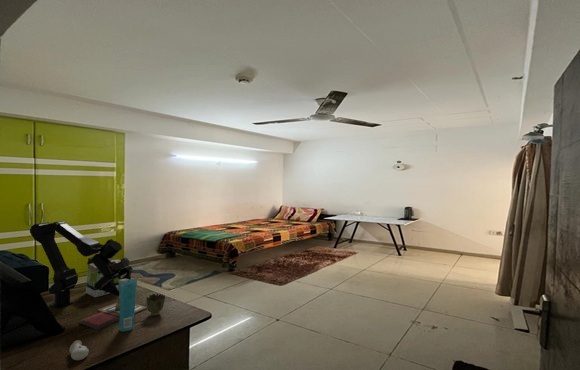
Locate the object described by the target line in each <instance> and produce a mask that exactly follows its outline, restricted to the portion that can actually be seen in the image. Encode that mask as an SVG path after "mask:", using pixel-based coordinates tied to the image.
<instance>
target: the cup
mask: <svg viewBox="0 0 580 370" xmlns="http://www.w3.org/2000/svg"><path fill="white" fill-rule="evenodd" d="M165 298H166V295H163V294H162V293H156V294H155V293H152V294H149V297H148V296H146V307H147V309H146V310H147V311H148V312H149V313H150V316H151V317H157V316H159V315H160V313H161V311H162V310H163V308H164V305H165V300H166V299H165Z"/></svg>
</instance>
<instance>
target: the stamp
mask: <svg viewBox="0 0 580 370" xmlns="http://www.w3.org/2000/svg"><path fill="white" fill-rule="evenodd" d="M126 280H129V279H121V280H119V282H122V281H126ZM118 290H119V286H118ZM115 303H116V306H115V311H120V297H119V296H117V300H116V302H115Z"/></svg>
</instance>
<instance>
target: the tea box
mask: <svg viewBox="0 0 580 370" xmlns="http://www.w3.org/2000/svg"><path fill="white" fill-rule="evenodd" d="M110 261H111V262H113V261H114V262H116V263H118V262H120V261H121V259H118V258H117V259H112V260H111V259H110ZM126 267H127V266H126ZM122 269H123V268H122ZM98 272H99V270H98V269H97V268H96V266H95V265H94V264H93V263H92V264H89V265H87V272H86V273H87V274H86V275H87V276H86V286H85V287H86V288H85V289H86V290H85V293H86V294H88V295H89V296H91V297H93V298H98V297H101V296H105V295H110V294H111V293H109V292H106V291H102V290H101V291H100V289H99V290H96V289H95V287H94V284H95V283H96V282H97V281H98V280H99V279H100V278H101V277H104V276H103V275H102V274H98ZM119 272H120V271H119ZM119 280H121V279H118V278H116V279H114V285H115V286H116V288H117V289H118V286H119Z"/></svg>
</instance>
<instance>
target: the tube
mask: <svg viewBox="0 0 580 370" xmlns="http://www.w3.org/2000/svg"><path fill="white" fill-rule="evenodd" d="M137 285H138V277H137V276H136V277H134V278H131V279H130V280H126V281H122V282H119V297H120V318H119V331H120V332H129V331H131V330H132V329H134V327H135V314H134V313H135V304H136V298H137V294H136V293H137Z"/></svg>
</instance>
